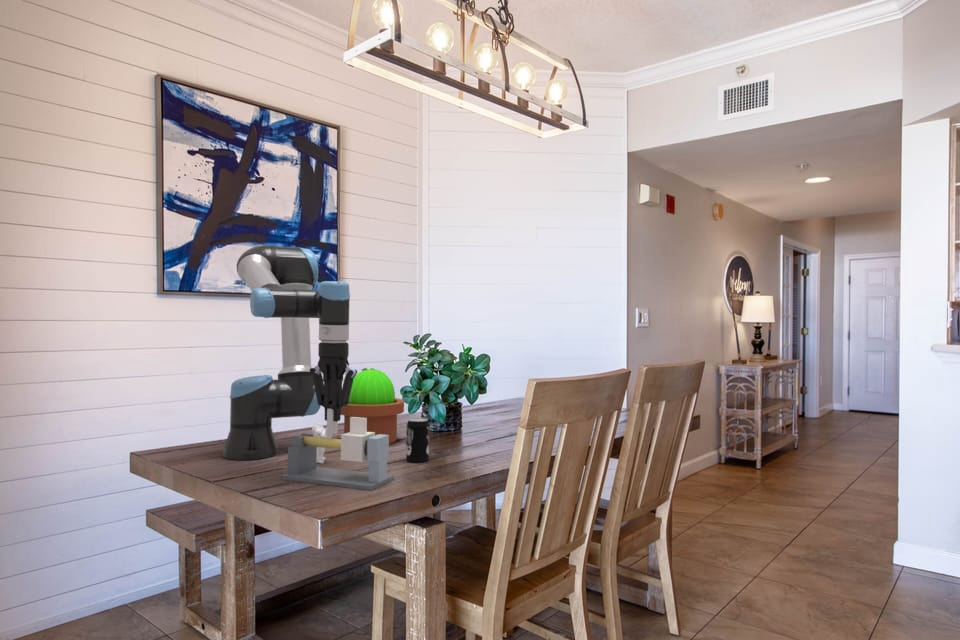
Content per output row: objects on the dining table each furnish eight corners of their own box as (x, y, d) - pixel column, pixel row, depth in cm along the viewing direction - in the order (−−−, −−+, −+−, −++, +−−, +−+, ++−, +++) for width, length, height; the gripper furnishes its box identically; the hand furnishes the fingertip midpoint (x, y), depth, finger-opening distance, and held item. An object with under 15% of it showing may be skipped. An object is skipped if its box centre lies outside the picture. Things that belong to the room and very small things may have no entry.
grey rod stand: (282, 479, 154) (282, 432, 154) (308, 469, 164) (309, 426, 165) (371, 490, 145) (372, 441, 145) (393, 479, 155) (394, 433, 155)
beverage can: (425, 463, 173) (425, 421, 173) (403, 462, 174) (403, 420, 174) (431, 458, 179) (432, 418, 179) (410, 457, 181) (410, 417, 181)
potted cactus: (399, 448, 193) (400, 369, 193) (330, 448, 193) (331, 369, 193) (406, 435, 215) (407, 365, 215) (344, 435, 215) (345, 364, 215)
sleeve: (340, 459, 151) (341, 418, 151) (354, 454, 157) (354, 415, 157) (361, 462, 149) (362, 420, 149) (374, 456, 155) (375, 416, 155)
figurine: (339, 462, 173) (339, 420, 174) (324, 465, 169) (324, 422, 169) (316, 457, 180) (317, 416, 180) (302, 460, 176) (302, 418, 176)
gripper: (303, 341, 154) (301, 434, 155) (347, 343, 150) (346, 438, 150) (320, 340, 161) (319, 429, 162) (363, 342, 157) (362, 433, 157)
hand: (332, 433), depth 156 cm, fingers closed
